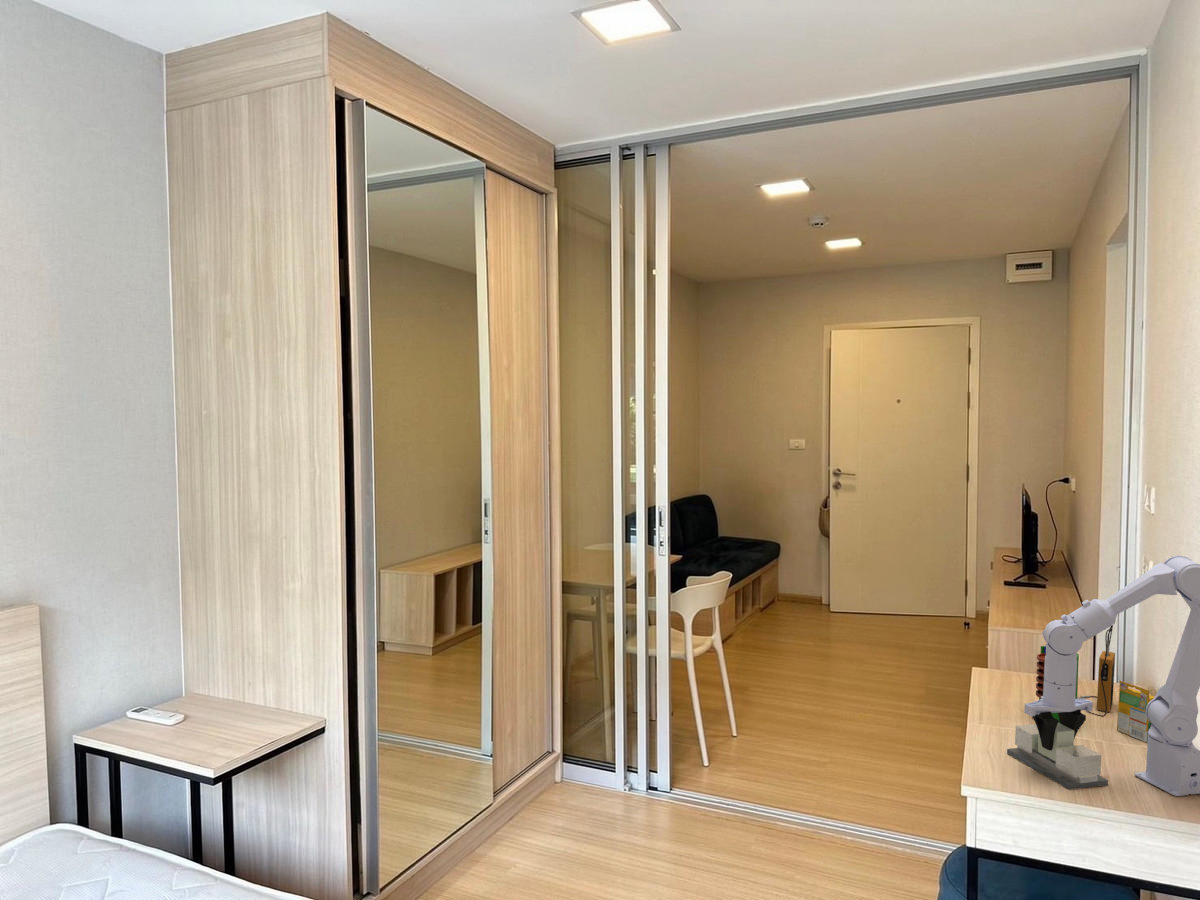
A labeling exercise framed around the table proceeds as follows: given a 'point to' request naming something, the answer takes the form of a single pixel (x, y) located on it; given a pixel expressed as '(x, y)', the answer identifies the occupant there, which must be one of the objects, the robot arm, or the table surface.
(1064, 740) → the block
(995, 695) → the table surface
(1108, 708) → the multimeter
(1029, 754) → the rail board
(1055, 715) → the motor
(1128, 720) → the crayon box
